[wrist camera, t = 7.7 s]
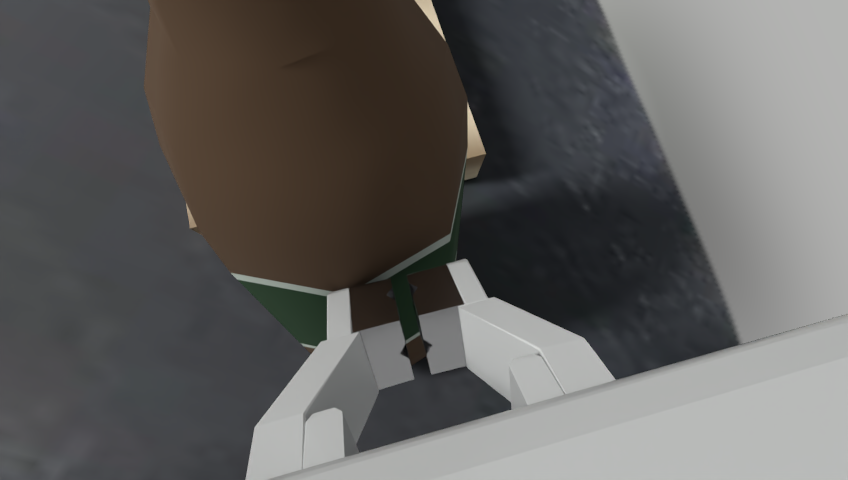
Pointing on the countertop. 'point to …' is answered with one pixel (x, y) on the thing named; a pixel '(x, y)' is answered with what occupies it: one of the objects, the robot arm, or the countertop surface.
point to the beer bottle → (312, 145)
